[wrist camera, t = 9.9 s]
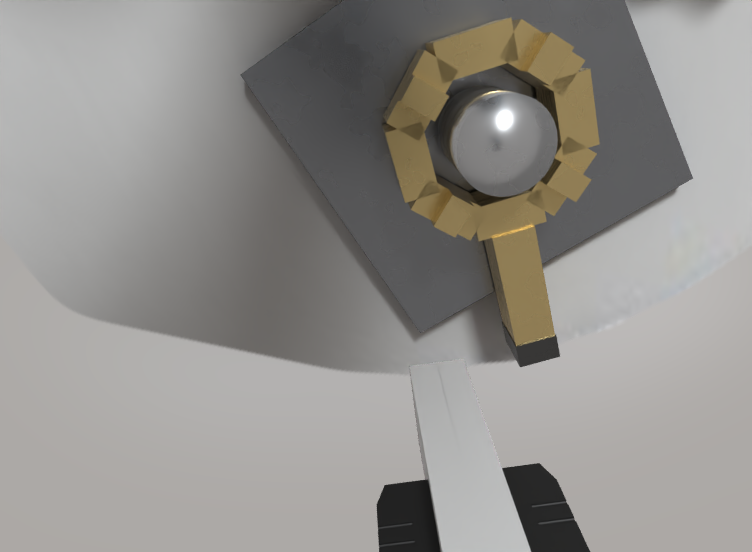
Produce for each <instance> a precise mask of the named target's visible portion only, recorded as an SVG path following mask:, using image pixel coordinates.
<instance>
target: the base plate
mask: <svg viewBox="0 0 752 552" xmlns="http://www.w3.org/2000/svg"><path fill="white" fill-rule="evenodd" d="M506 18H511V19H512V20H517V19H523V20H524V21H526V22H527V23H529V24H530V25H532V26H533V27H535V28H536V29H538V30H539V31H541V32H543V33H544V32H552V33H553V34H555V35H557V36H558V37H560V38H561V39H563V40H564V41H566V42H567V43H569V44H570V45H572V46H573V47H574V48H573V50H572V52H573V53H575V54H576V55H578V56H580V57H581V58H583V59H584V60H585V62H584V63H583V65H582V66H581V68H589V69H591V78H592V86H593V94H594V102H595V110H596V119H597V127H598V135H599V143H600V144H599V145H596V146H592V147H589V148H588V149H590V150H592V151H593V152H595V153H597V155H596V156H595V158H594V159H593V160H592V162H591V163H590V165H589V166H588V168H587V169H586V171H585V172H584V174H583V175H585V176H586V177H588V178H590V179H592V180H591V181H590V183H589V184H588V186H587V187H586V189H585V190H584V192H583V193H582V194H581V196H580V197H579V199H578V200H577V202H575V201H573V200H571V199H570V198H568V197H567V198H566V200H565V201H564V203H563V204H562V205H561V207H560V208H559V210H558V211H557V213H556V214H555V216H553V215H551V214H549V213H548V212H546V211H545V215H546V221H547V222H544V223H540V224H537V225H534V226H535V229H536V235H537V240H538V246H539V251H540V257H541V262H542V264H543V263H545V262H547V261H548V260H550V259H552V258H554V257H555V256H557V255H559V254H561V253H562V252H564V251H566V250H568V249H569V248H571V247H573V246H575V245H576V244H578V243H580V242H582V241H584V240H585V239H587V238H589V237H591V236H592V235H594V234H596V233H598V232H599V231H601V230H603V229H605V228H606V227H608V226H610V225H612V224H613V223H615V222H617V221H619V220H620V219H622V218H624V217H626V216H628V215H629V214H631V213H633V212H635V211H636V210H638V209H640V208H642V207H643V206H645V205H647V204H649V203H650V202H652V201H654V200H656V199H657V198H659V197H661V196H663V195H665V194H666V193H668V192H670V191H672V190H673V189H675V188H677V187H679V186H680V185H682V184H684V183H686V182H687V181H689V180H691V179H693V177H692V175H691V172H690V169H689V167H688V164H687V162H686V159H685V156H684V154H683V151H682V149H681V146H680V143H679V141H678V138H677V136H676V133H675V130H674V128H673V125H672V123H671V120H670V117H669V115H668V112H667V110H666V107H665V104H664V102H663V99H662V97H661V94H660V91H659V89H658V86H657V84H656V81H655V78H654V76H653V73H652V71H651V68H650V65H649V63H648V60H647V58H646V55H645V52H644V50H643V47H642V45H641V42H640V39H639V37H638V34H637V32H636V29H635V27H634V24H633V21H632V19H631V16H630V14H629V11H628V8H627V6H626V3H625V1H624V0H343V1H342V2H341V3H339V4H338V5H337V6H335V7H334V8H332V9H331V10H330V11H328V12H327V13H325V14H324V15H323V16H321V17H320V18H319V19H317V20H316V21H314V22H313V23H312V24H310V25H309V26H307V27H306V28H305V29H303V30H302V31H301V32H299V33H298V34H296V35H295V36H294V37H292V38H291V39H289V40H288V41H287V42H285V43H284V44H283V45H281V46H280V47H278V48H277V49H276V50H274V51H273V52H271V53H270V54H269V55H267V56H266V57H265V58H263V59H262V60H260V61H259V62H258V63H256V64H255V65H253V66H252V67H251V68H249V69H248V70H247V71H245V72H244V73H242V74H241V76H242V78H243V79H244V81H245V82H246V84H247V85H248V86H249V88H250V89H251V91H252V92H253V94H254V95H255V97H256V98H257V99H258V101H259V102H260V104H261V105H262V107H263V108H264V109H265V111H266V112H267V114H268V115H269V117H270V118H271V119H272V121H273V122H274V124H275V125H276V127H277V128H278V130H279V131H280V132H281V134H282V135H283V137H284V138H285V140H286V141H287V142H288V144H289V145H290V147H291V148H292V150H293V151H294V152H295V154H296V155H297V157H298V158H299V160H300V161H301V162H302V164H303V165H304V167H305V168H306V170H307V171H308V173H309V174H310V175H311V177H312V178H313V180H314V181H315V183H316V184H317V185H318V187H319V188H320V190H321V191H322V193H323V194H324V195H325V197H326V198H327V200H328V201H329V203H330V204H331V206H332V207H333V208H334V210H335V211H336V213H337V214H338V216H339V217H340V218H341V220H342V221H343V223H344V224H345V226H346V227H347V228H348V230H349V231H350V233H351V234H352V236H353V237H354V239H355V240H356V241H357V243H358V244H359V246H360V247H361V249H362V250H363V251H364V253H365V254H366V256H367V257H368V259H369V260H370V261H371V263H372V264H373V266H374V267H375V269H376V270H377V271H378V273H379V274H380V276H381V277H382V279H383V280H384V282H385V283H386V284H387V286H388V287H389V289H390V290H391V292H392V293H393V294H394V296H395V297H396V299H397V300H398V302H399V303H400V304H401V306H402V307H403V309H404V310H405V312H406V313H407V315H408V316H409V317H410V319H411V320H412V322H413V323H414V325H415V326H416V327H417V329H418V330H419V332H420V333H422V332H423V331H425V330H427V329H429V328H430V327H432V326H434V325H436V324H437V323H439V322H441V321H443V320H444V319H446V318H448V317H450V316H451V315H453V314H455V313H457V312H458V311H460V310H462V309H464V308H466V307H467V306H469V305H471V304H473V303H474V302H476V301H478V300H480V299H481V298H483V297H485V296H487V295H488V294H490V293H492V292H494V291H495V286H494V282H493V277H492V273H491V268H490V264H489V260H488V255H487V251H486V246H485V242H484V240H482V241H478V239H477V238H476V236H475V235H474V236H473V237H472V239H471V240H468V239H466V238H464V237H462V236H460V235H458V234H457V236H456V237H453V236H451V235H449V234H447V233H445V232H443V231H441V230H439V229H437V228H435V227H434V226H433V224H432V222H431V220H430V219H428V218H426V217H424V216H422V215H420V214H418V213H416V212H414V211H412V210H411V209H410V206H409V204H408V202H407V203H405V201H404V198H403V195H402V193H401V190H400V186H399V183H398V179H397V176H396V172H395V169H394V165H393V162H392V158H391V155H390V151H389V148H388V144H387V141H386V137H385V134H384V130H383V127H382V125H384V124H387V123H386V121H385V119H384V117H383V115H384V113H385V111H386V110H387V108H388V106H389V104H390V102H391V100H392V98H393V96H394V94H395V92H396V90H397V88H398V87H399V85H400V83H401V81H402V79H403V77H404V75H405V73H406V71H407V69H408V67H409V66H410V64H411V62H412V60H413V58H414V56H415V54H416V52H417V50H426V51H427V49H426V45H425V43H428V42H431V41H434V40H437V39H440V38H443V37H446V36H449V35H452V34H455V33H458V32H462V31H465V30H468V29H471V28H474V27H477V26H480V25H483V24H486V23H489V22H492V21H495V20H501V19H506ZM446 94H447V95H448V96H449V97H448V99H447V101H446V103H445V104H444V106H443V108H442V110H441V112H440V113H439V115H438V117H437V119H436V121H435V122H434V121H433V120H431V121H430V122H429V124H428V126H427V128H426V130H425V131H424V133H425V137H426V141H427V145H428V149H429V153H430V156H431V160H432V164H433V168H434V172H435V175H437V176H439V177H441V178H443V179H445V180H447V181H448V182H450V183H452V184H454V185H456V186H458V187H459V188H461V189H463V190H465V191H467V192H469V193H473V192H476V191H480V192H482V193H484V194H487V195H491V196H497V197H506V196H513V195H517V194H519V193H522V192H524V191H526V190H528V189H530V188H531V187H533V186H534V185H535V184H537V183H538V182H539V181H540V180H541V179H542V178H543V177H544V176H545V174H546V173H547V171H548V170H549V168H550V166H551V165H552V163H553V160H554V158H555V154H556V150H557V142H558V137H557V129H556V125H555V122H554V120H553V118H552V116H551V114H550V113H549V111H548V110H547V109H546V108H545V107H544V106H543V105H542V104H541V103H540V102H538V101H537V95H536V89H535V87H534V86H532V85H531V84H529V83H527V82H526V81H524V80H522V79H521V78H519V77H518V76H516V75H514V74H513V73H511V72H509V71H508V70H506V69H505V68H503V67H501V66H497V67H494V68H490V69H487V70H484V71H481V72H478V73H475V74H472V75H468V76H465V77H462V78H459V79H456V80H453V81H452V83H451V85H450V86H449V88H448V90H447V92H446Z"/></svg>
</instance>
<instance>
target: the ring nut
mask: <svg viewBox="0 0 752 552" xmlns="http://www.w3.org/2000/svg"><path fill="white" fill-rule="evenodd" d="M425 45H426V49H427V51H426V50H417V52H416V54H415V56H414V58H413V60H412V62H411V64H410V66H409V67H408V69H407V71H406V73H405V75H404V77H403V79H402V81H401V83H400V85H399V87H398V88H397V90H396V92H395V94H394V96H393V98H392V100H391V102H390V104H389V106H388V108H387V110H386V111H385V113H384V115H383V117H384V119H385V121H386V123H387V124H384V125H382V127H383V130H384V134H385V137H386V141H387V144H388V148H389V151H390V155H391V158H392V162H393V165H394V169H395V172H396V176H397V179H398V183H399V186H400V190H401V193H402V195H403V198H404V201H405V203H407V202H408V204H409V206H410V209H411V210H412V211H414V212H416V213H418V214H420V215H422V216H424V217H426V218H428V219H430V220H431V222H432V224H433V226H434V227H435V228H437V229H439V230H441V231H443V232H445V233H447V234H449V235H451V236H453V237H456V236H457V234H458V235H460V236H462V237H464V238H466V239H468V240H471V239H472V237H473V236H474V235H475V236H476V238H477V239H478V241H482V240H484V242H485V246H486V251H487V255H488V260H489V264H490V268H491V273H492V277H493V282H494V286H495V290H496V295H497V299H498V304H499V308H500V312H501V317H502V321H503V322H502V324H503V329H504V333H505V337H506V341H507V343H508V345H509V347H510V349H511V351H512V353H513V355H514V356H515V358H516V360H517V362H518V364H519V366H520V367H523V366H527V365H530V364H534V363H538V362H541V361H545V360H549V359H552V358H556V357H559V356H560V354H559V348H558V343H557V337H556V335H555V333H554V328H553V322H552V317H551V311H550V306H549V300H548V295H547V289H546V284H545V278H544V273H543V268H542V262H541V257H540V251H539V246H538V240H537V235H536V229H535V226H534V225H537V224H540V223H544V222H547V221H546V215H545V211H546V212H548V213H549V214H551V215H553V216H555V214H556V213H557V211H558V210H559V208H560V207H561V205H562V204H563V203H564V201H565V200H566V198H567V197H568V198H570V199H571V200H573V201H575V202H577V200H578V199H579V197H580V196H581V194H582V193H583V192H584V190H585V189H586V187H587V186H588V184H589V183H590V181H591V180H592V179H590V178H588V177H586V176H585V175H583V174H584V172H585V171H586V169H587V168H588V166H589V165H590V163H591V162H592V160H593V159H594V158H595V156H596V155H597V153H595V152H593V151H592V150H590V149H588V148H589V147H592V146H596V145H599V144H600V143H599V135H598V127H597V119H596V110H595V102H594V94H593V86H592V78H591V69H589V68H581V66H582V65H583V63H584V62H585V60H584V59H583V58H581V57H580V56H578V55H576V54H575V53H573V52H572V50H573V48H574V47H573V46H572V45H570V44H569V43H567V42H566V41H564V40H563V39H561V38H560V37H558V36H557V35H555V34H553V33H552V32H544V33H543V32H541V31H539V30H538V29H536V28H535V27H533V26H532V25H530V24H529V23H527V22H526V21H524V20H523V19H517V20H512V19H511V18H506V19H501V20H495V21H492V22H489V23H486V24H483V25H480V26H477V27H474V28H471V29H468V30H465V31H462V32H458V33H455V34H452V35H449V36H446V37H443V38H440V39H437V40H434V41H431V42H428V43H425ZM497 66H501V67H503V68H505V69H506V70H508V71H509V72H511V73H513V74H514V75H516V76H518V77H519V78H521V79H522V80H524V81H526V82H527V83H529V84H531V85H532V86H534V87H535V89H536V95H537V101H538V102H540V103H541V104H542V105H543V106H544V107H545V108H546V109H547V110H548V111H549V113H550V114H551V116H552V118H553V120H554V122H555V125H556V129H557V137H558V142H557V150H556V154H555V158H554V160H553V163H552V165H551V166H550V168H549V170H548V171H547V173H546V174H545V176H544V177H543V178H542V179H541V180H540V181H539V182H538V183H537V184H535V185H534V186H533V187H531V188H530V189H528V190H526V191H524V192H522V193H519V194H517V195H513V196H506V197H497V196H491V195H487V194H484V193H482V192H480V191H476V192H473V193H469V192H467V191H465V190H463V189H461V188H459V187H458V186H456V185H454V184H452V183H450V182H448V181H447V180H445V179H443V178H441V177H439V176H437V175H435V172H434V168H433V164H432V160H431V156H430V153H429V149H428V145H427V141H426V137H425V133H424V131H425V130H426V128H427V126H428V124H429V122H430V121H431V120H433V121H434V122H435V121H436V119H437V117H438V115H439V113H440V112H441V110H442V108H443V106H444V104H445V103H446V101H447V99H448V97H449V96H448V95H447V94H446V92H447V90H448V88H449V86H450V85H451V83H452V81H453V80H456V79H459V78H462V77H465V76H468V75H472V74H475V73H478V72H481V71H484V70H487V69H490V68H494V67H497Z"/></svg>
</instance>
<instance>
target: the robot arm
mask: <svg viewBox="0 0 752 552" xmlns="http://www.w3.org/2000/svg"><path fill="white" fill-rule="evenodd" d="M409 368H410V376H411V384H412V392H413V400H414V407H415V415H416V423H417V431H418V439H419V446H420V452H421V458H422V463H423V470H424V475H425V480H420V481H412V482H405V483H397V484H390V485H385V486H384V488H383V491H382V493H381V496H380V498H379V500H378V503H377V518H378V535H379V536H378V537H379V552H590V550H589V548H588V547H587V544H586V542H585V540H584V538H583V536H582V533H581V531H580V529H579V527H578V525H577V523H576V521H575V520H574V516H573V514H572V512H571V510H570V508H569V505H568V504H567V503H566V499H565V497H564V495H563V492H562V490H561V488H560V486H559V484H558V482H557V480H556V479H555V478H554V477H553V476H552V475H551V474H550V473H549V472H548V471H547V470H546V469H545V468H544V467H543V466H541V464H539V463H537V464H530V465H523V466H515V467H507V468H502V467H501V464H500V461H499V459H498V456H497V453H496V450H495V447H494V445H493V441H492V439H491V436H490V433H489V430H488V428H487V424H486V421H485V419H484V416H483V413H482V410H481V407H480V405H479V401H478V399H477V396H476V393H475V390H474V387H473V384H472V382H471V379H470V376H469V373H468V370H467V367H466V364H465V361H464V359H457V360H449V361H442V362H435V363H427V364H420V365H413V366H409Z"/></svg>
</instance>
